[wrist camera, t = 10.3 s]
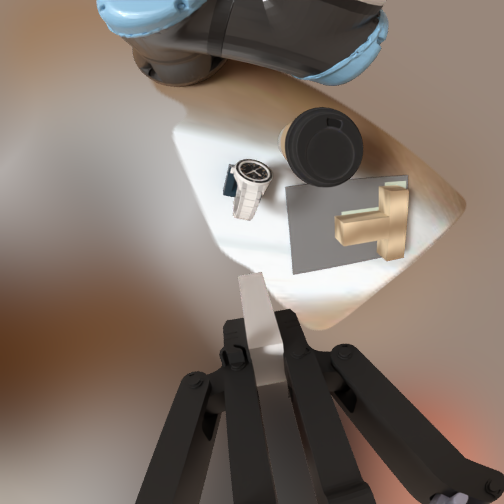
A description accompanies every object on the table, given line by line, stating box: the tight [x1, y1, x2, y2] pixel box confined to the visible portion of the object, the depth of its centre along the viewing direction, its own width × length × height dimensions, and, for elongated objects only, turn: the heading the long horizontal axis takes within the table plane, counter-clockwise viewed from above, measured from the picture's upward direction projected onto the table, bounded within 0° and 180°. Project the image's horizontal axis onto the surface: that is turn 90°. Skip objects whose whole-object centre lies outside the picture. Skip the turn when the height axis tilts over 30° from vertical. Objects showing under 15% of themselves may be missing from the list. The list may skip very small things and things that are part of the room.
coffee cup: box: [278, 107, 363, 187], centre depth 34 cm, size 9×9×15 cm
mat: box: [285, 175, 408, 275], centre depth 48 cm, size 16×24×1 cm, turn 98°
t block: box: [334, 185, 409, 261], centre depth 46 cm, size 13×13×4 cm
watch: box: [223, 159, 273, 221], centre depth 38 cm, size 6×8×11 cm
